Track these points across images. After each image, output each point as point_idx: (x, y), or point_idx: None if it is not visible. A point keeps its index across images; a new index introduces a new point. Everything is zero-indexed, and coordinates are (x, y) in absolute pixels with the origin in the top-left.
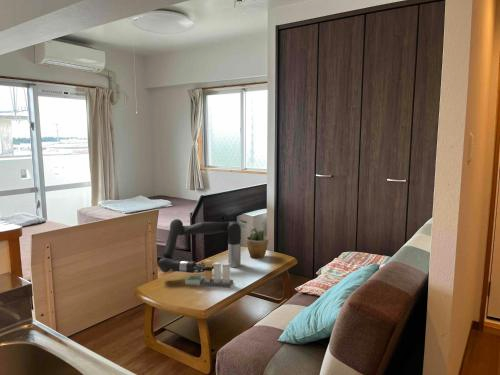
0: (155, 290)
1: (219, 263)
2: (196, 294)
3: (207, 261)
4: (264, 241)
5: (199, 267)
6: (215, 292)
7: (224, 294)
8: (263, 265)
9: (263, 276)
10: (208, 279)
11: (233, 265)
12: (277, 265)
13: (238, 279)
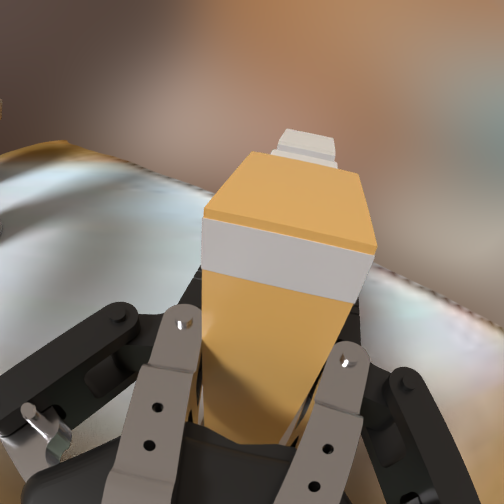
0: None
1: (304, 158)
2: (484, 471)
3: (364, 203)
4: (1, 102)
5: (344, 493)
6: (423, 362)
7: (428, 315)
8: (53, 173)
9: (171, 179)
10: (299, 412)
11: None
12: (81, 154)
13: (182, 244)
